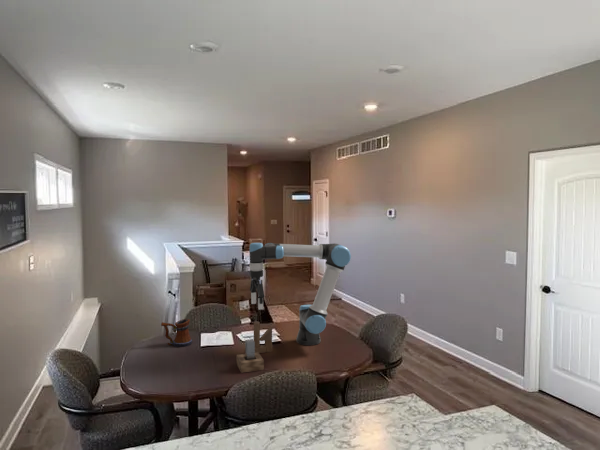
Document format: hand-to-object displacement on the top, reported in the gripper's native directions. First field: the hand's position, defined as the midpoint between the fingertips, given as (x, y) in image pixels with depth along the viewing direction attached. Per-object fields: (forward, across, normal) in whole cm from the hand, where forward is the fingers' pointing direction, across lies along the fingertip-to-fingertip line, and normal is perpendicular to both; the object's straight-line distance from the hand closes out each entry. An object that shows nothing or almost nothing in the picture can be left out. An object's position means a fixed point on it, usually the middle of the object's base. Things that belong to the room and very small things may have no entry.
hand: (257, 306), depth 244 cm
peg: (+27, +18, -10) cm, 34 cm away
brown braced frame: (+28, 0, +3) cm, 28 cm away
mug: (+26, -31, -42) cm, 59 cm away
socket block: (+27, +18, -10) cm, 34 cm away
